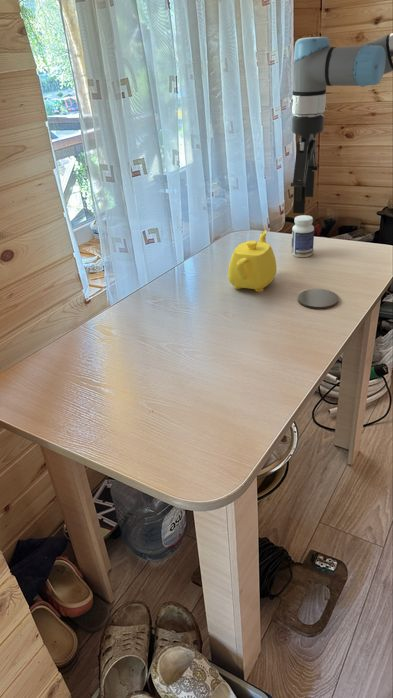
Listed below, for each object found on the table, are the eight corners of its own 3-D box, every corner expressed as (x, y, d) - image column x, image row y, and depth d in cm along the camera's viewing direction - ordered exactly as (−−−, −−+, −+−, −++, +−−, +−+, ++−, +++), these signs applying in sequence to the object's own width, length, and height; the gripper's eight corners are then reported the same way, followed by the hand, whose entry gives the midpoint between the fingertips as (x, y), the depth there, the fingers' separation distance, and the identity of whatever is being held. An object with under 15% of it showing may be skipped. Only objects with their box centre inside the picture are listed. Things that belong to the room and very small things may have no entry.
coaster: (340, 292, 118) (340, 290, 118) (336, 311, 111) (336, 308, 110) (301, 289, 121) (301, 287, 120) (294, 307, 114) (294, 304, 113)
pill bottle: (317, 253, 138) (319, 217, 133) (302, 259, 135) (303, 223, 130) (302, 248, 142) (303, 212, 137) (286, 253, 139) (287, 217, 134)
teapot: (245, 265, 135) (244, 226, 129) (286, 270, 130) (287, 229, 124) (218, 295, 121) (215, 252, 115) (262, 302, 117) (262, 257, 111)
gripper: (301, 106, 131) (297, 190, 142) (281, 124, 112) (278, 219, 123) (331, 105, 129) (325, 190, 140) (316, 123, 109) (310, 221, 121)
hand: (303, 204), depth 132 cm, fingers open, 13 cm apart
